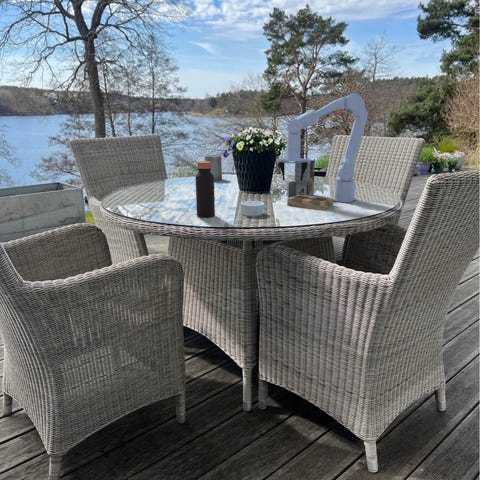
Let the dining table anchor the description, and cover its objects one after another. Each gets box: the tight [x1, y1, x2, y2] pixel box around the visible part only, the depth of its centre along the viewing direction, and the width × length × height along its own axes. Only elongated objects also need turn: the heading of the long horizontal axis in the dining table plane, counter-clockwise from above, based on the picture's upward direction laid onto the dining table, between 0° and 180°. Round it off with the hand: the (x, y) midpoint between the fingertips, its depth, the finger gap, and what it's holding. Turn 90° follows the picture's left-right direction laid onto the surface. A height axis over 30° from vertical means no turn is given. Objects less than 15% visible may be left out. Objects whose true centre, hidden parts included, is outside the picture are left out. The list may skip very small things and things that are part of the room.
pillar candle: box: [204, 154, 223, 182], centre depth 243 cm, size 10×10×15 cm
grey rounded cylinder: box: [287, 179, 297, 199], centre depth 185 cm, size 4×4×9 cm
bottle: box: [195, 160, 216, 219], centre depth 155 cm, size 7×7×20 cm
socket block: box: [286, 195, 334, 211], centre depth 174 cm, size 10×16×3 cm, turn 56°
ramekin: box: [240, 200, 265, 217], centre depth 160 cm, size 9×9×4 cm
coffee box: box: [294, 159, 316, 196], centre depth 194 cm, size 9×6×16 cm
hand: (292, 180), depth 184 cm, fingers open, 7 cm apart
